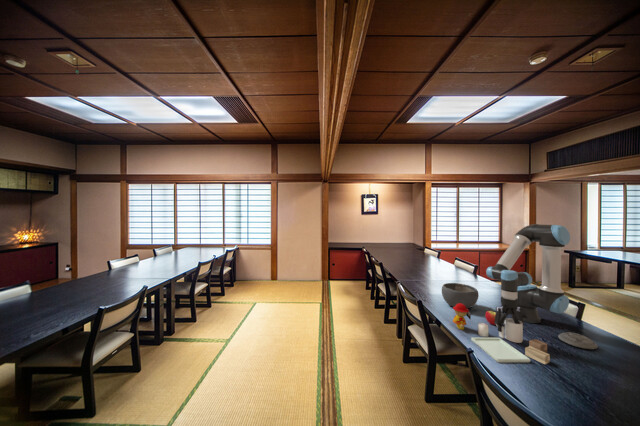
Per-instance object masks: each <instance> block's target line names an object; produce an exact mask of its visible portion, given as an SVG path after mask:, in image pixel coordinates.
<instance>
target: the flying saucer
mask: <svg viewBox="0 0 640 426" xmlns="http://www.w3.org/2000/svg"><path fill="white" fill-rule="evenodd" d="M557 337H558V339H559V340H560V341H562V342H564V343H566V344H567V345H571V346H573V347H576V348H581V349H585V350H596V349H598V344H596V342H595V341H594V340H592V339H591V338H589V337H587V336H585V335H583V334H580V333H576V332H566V331H565V332H562V333H560V334H558V336H557Z"/></svg>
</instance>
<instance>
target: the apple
mask: <svg viewBox="0 0 640 426" xmlns="http://www.w3.org/2000/svg"><path fill="white" fill-rule="evenodd" d="M489 309H490V310H487V311H486V312H485V315H484V316H485V319H486V321H487V322H488V323H489V324H490V325H493V326H494V325H495V326H497V325H496V324H495V323H494V321H495V315H496V311H493V310H492V309H491V308H489Z"/></svg>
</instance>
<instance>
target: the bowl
mask: <svg viewBox="0 0 640 426" xmlns="http://www.w3.org/2000/svg"><path fill="white" fill-rule="evenodd" d="M441 286H442V287H441V294H442V298H443V299H444V301H445V302H446V303H447V304H448V305H449V306H451V307H452V308H453V307H455V306H456V304H458V303H461V304H464V305H465V306H466V308H467V309H471V308H472V307H473V306H475V305H476V304H477V302H478V300H479V297H480V296H479V291H478V290H477V288H476V287H474V286H471V285H468V284H465V283H458V282H448V283H447V282H446V283H444V284H442V285H441Z"/></svg>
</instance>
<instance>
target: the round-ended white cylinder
mask: <svg viewBox="0 0 640 426" xmlns="http://www.w3.org/2000/svg"><path fill="white" fill-rule="evenodd" d="M477 327H478V329H477V330H478V331H477V334H478V336H480V337H481V338H489V325H488V324H487V323H484V322H478V325H477Z"/></svg>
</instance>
